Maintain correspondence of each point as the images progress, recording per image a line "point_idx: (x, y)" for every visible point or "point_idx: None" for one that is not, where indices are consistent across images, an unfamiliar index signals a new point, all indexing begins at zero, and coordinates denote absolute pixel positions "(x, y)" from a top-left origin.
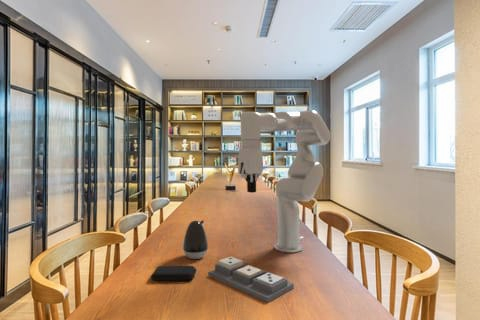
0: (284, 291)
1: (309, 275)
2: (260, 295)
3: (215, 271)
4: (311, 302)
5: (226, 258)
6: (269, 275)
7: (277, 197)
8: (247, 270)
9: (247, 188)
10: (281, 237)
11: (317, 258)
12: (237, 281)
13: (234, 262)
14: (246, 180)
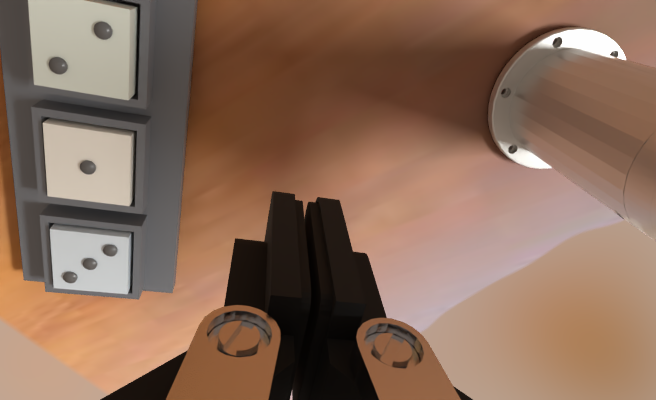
0: None
1: None
2: (22, 252)
3: None
4: (131, 346)
5: (86, 8)
6: (105, 253)
7: None
8: (78, 164)
9: (272, 218)
10: (545, 104)
11: (470, 244)
12: (30, 139)
13: (77, 82)
14: (170, 365)
